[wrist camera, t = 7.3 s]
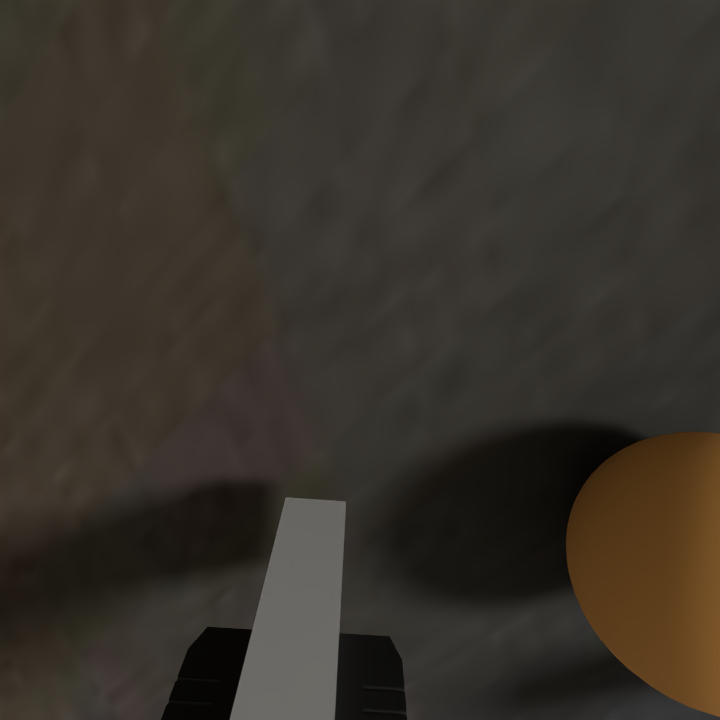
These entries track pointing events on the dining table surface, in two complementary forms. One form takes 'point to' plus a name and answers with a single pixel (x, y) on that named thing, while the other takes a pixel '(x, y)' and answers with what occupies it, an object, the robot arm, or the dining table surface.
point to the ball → (654, 562)
